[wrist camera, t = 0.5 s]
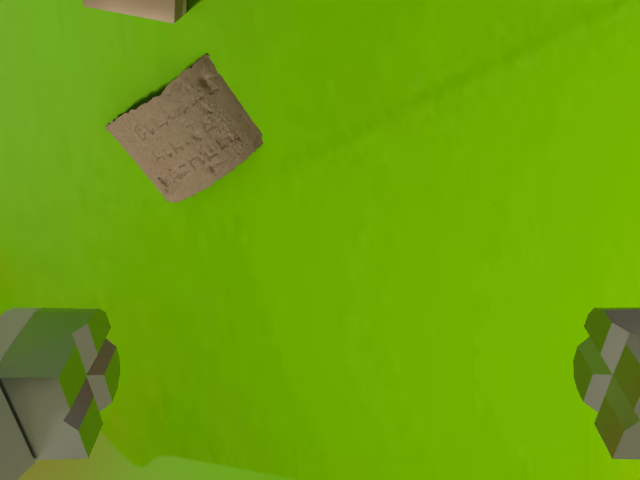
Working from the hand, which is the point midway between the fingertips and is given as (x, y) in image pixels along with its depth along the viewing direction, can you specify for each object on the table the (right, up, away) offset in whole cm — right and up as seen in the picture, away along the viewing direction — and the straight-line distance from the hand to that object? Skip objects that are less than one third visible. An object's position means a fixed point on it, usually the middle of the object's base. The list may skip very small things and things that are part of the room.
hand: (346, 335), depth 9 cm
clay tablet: (-13, +12, +44) cm, 48 cm away
